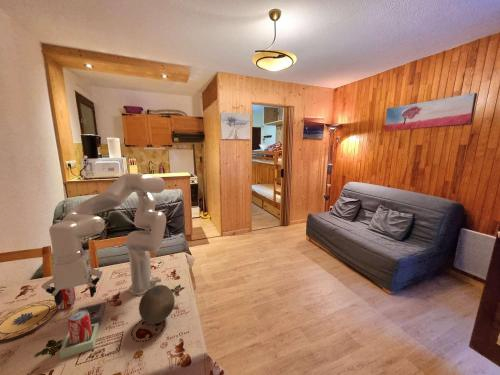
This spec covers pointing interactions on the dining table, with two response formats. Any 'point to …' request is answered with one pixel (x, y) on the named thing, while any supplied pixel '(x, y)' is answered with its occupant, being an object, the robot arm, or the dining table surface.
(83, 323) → the soda can
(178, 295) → the dining table surface
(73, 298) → the soda can
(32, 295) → the dining table surface
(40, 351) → the dining table surface
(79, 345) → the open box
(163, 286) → the cantaloupe
